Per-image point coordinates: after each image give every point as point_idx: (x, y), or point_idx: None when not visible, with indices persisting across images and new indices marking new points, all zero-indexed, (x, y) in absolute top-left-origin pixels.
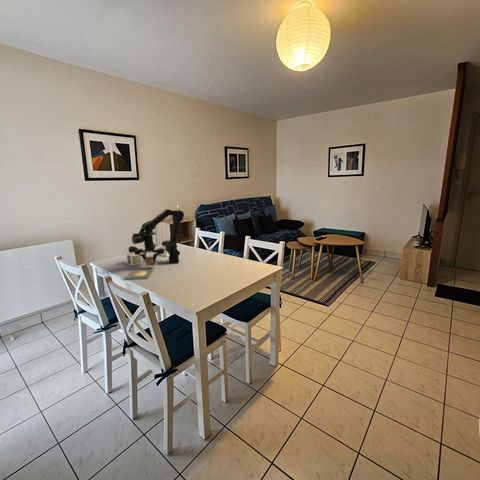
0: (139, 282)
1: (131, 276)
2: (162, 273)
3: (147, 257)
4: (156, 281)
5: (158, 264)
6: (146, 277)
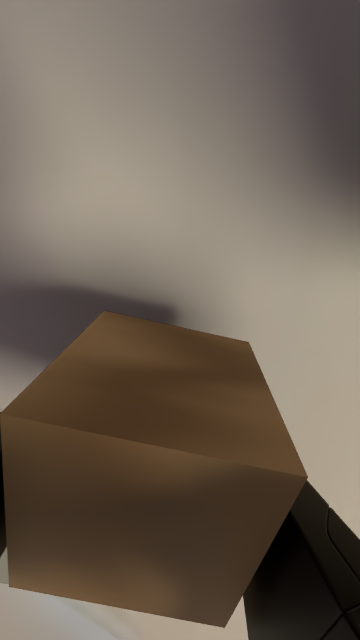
0: (105, 616)
1: (7, 567)
2: None
3: (28, 491)
4: (225, 634)
5: (299, 169)
6: None
